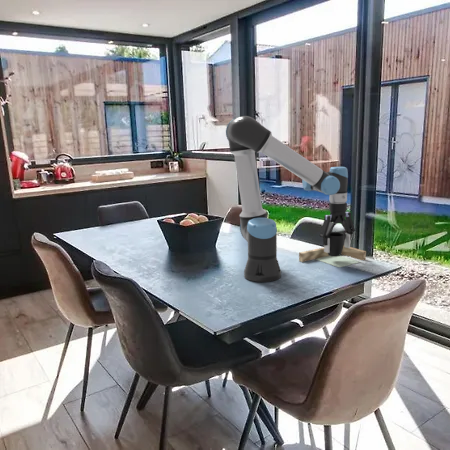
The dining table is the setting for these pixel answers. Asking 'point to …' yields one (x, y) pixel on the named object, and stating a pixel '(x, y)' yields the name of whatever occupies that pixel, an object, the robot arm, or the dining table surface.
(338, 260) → the mat
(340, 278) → the dining table surface
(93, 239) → the dining table surface
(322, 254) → the tan bent bar
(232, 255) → the dining table surface
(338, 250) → the mug
